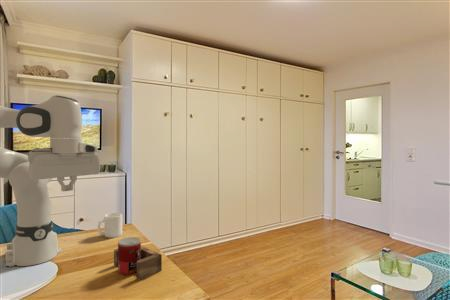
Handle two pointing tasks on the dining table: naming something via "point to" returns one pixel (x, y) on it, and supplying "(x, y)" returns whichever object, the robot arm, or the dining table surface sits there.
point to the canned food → (128, 255)
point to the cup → (111, 225)
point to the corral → (145, 263)
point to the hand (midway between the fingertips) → (67, 190)
